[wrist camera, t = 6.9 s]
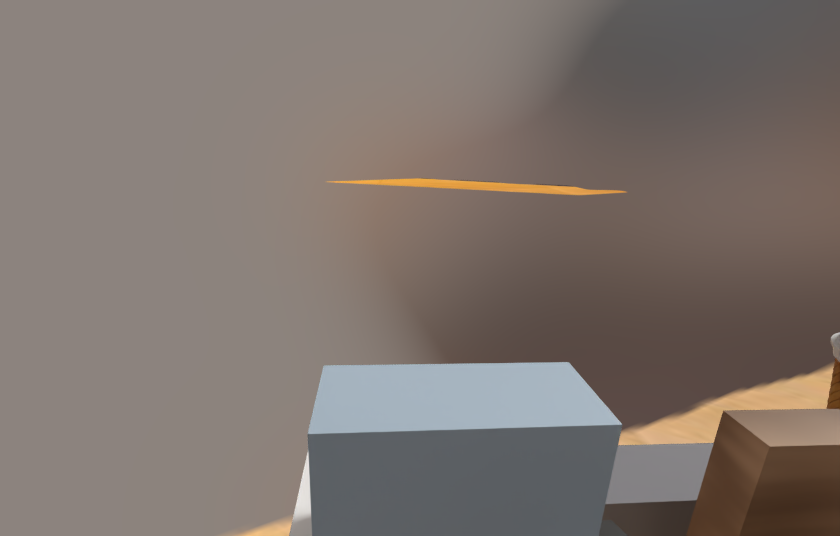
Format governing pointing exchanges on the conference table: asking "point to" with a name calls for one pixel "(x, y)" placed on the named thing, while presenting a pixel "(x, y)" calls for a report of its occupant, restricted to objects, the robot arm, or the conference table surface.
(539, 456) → the slate domino
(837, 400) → the disposable coffee cup
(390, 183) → the conference table surface
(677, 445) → the block
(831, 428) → the walnut domino
